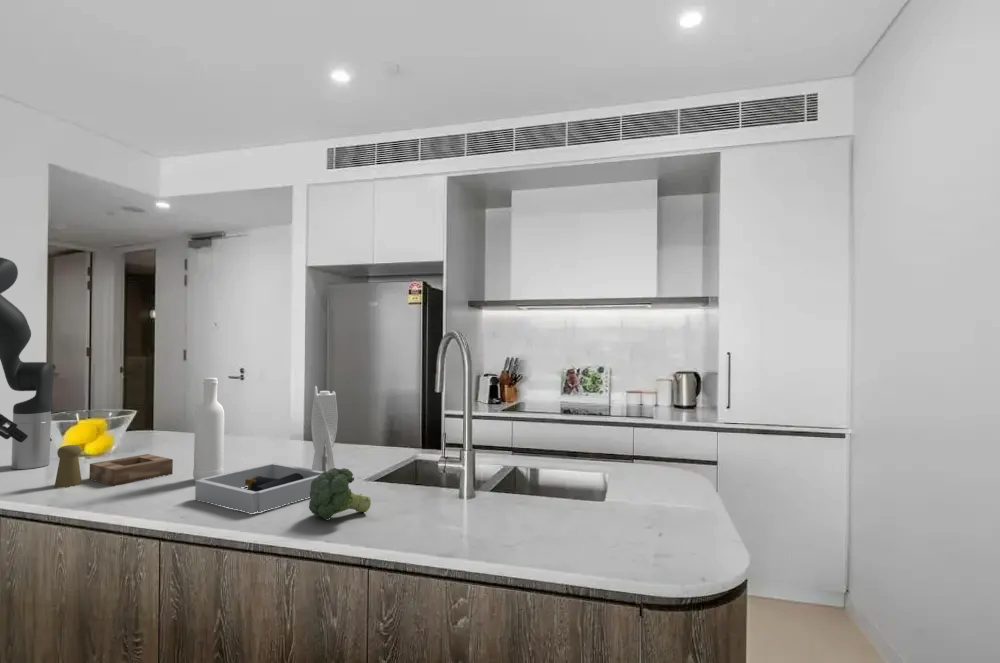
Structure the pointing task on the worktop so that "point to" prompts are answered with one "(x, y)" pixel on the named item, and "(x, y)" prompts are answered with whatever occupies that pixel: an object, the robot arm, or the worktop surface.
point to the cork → (68, 466)
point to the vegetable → (335, 494)
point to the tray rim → (231, 494)
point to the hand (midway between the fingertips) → (17, 437)
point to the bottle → (209, 434)
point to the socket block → (130, 469)
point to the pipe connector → (270, 482)
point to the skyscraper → (324, 429)
